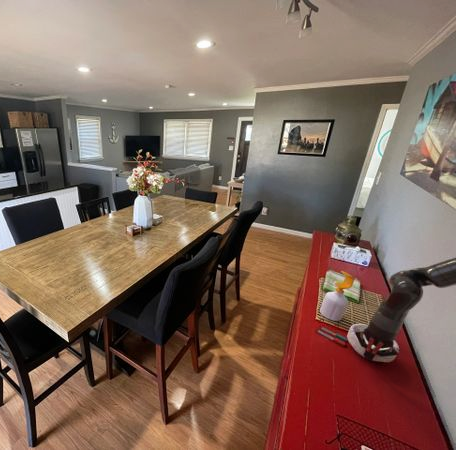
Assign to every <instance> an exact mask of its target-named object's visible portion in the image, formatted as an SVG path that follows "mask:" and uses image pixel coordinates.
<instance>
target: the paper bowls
mask: <svg viewBox="0 0 456 450" xmlns="http://www.w3.org/2000/svg"><path fill="white" fill-rule="evenodd" d="M368 325H369V324H365V323H354V324H352V325H351V326H350V328H349V330H348V332H347V334H346V338H347V341H348V343H349V345H351V346H352V348H353V349H354V351H356V352H357V354H359V355H360V356H362V357H363V358H365V356H363V354H364V352H365V350H366V349H365V348H364V347H362V346H361V345H360V343H359V341H358V339H357V337H356V335H355V332H356V330H357V329H359V330H363V331H364V329H366V328H367V327H368ZM363 337H364V339H365V341H366V343H367V344H368V341H367V340H366V338H365V335H363ZM393 342H394V347H395V348H397V349H399V350H400V347H399V345H398V343H397V341H396V339H394V341H393ZM373 348H374V345H372V347H371V350H373ZM389 348H390V347H389ZM389 348H383V349H381V348H380V350H385V349H389ZM397 356H398V355H393V356H385V357H380V356H379V355H375V356H374V358H373V360H371V361H373V362H381V363H391V362H393V361H394V360H395V359H396V357H397Z"/></svg>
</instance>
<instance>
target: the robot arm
mask: <svg viewBox="0 0 456 450" xmlns="http://www.w3.org/2000/svg"><path fill="white" fill-rule="evenodd" d="M388 281H389V282H388V283H389V285H390V287H391V291H390V294H388V295H387V296H384V297H383V298H382V300H381V301H380V303H379V305H378V307H377V309H376V310H375V312H374V313H373V315H372V317H371V318H370V321H369V323H368V324H367V325H368V327H367V328H366V329H364V331H363V330H359V329H357V330H356V332H355V335H356V337H357V339H358V341H359V343H360V345H361V346H362V347H364V348H365V349H366V350H365V352H364V354H363V356H365V357H364V359H366V360H367V361H372V360H373V358H374V356H375V355H379V356H380V357H385V356H393V355H397V356H398V355H399V353H400V348H399V349H397V348H395V347H394V342H393V341H394V340H396V337H397V336H398V334H399V332H400V331H401V330H402V327H403V324H404V321H405V320H406V318H407V316H408V315H409V312H410V311H411V310H412V309H414V308H415V307H416V306H417V305H418V304H419V303H420V301H421V300H422V298H423V296H424V288H423V287H429V286H434V287H436V288H438V289H445V288H449V287H453V286H456V257H453V258H449V259H446V260H443V261H439V262H436V263H434V264H431V265H428V266H424V267H417V268H411V269H405V270H400V271H397V272H395V273H393V274H392V275H391V276H390V277H389V279H388ZM363 335H365V338H366V340H367V341H368V344H367V343H366V341H365V339H364V337H363ZM372 345H374V348H373V350H371V347H372ZM389 347H390V348H389ZM380 348H381V349H383V348H389V349H385V350H380ZM363 356H362V357H363Z"/></svg>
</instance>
